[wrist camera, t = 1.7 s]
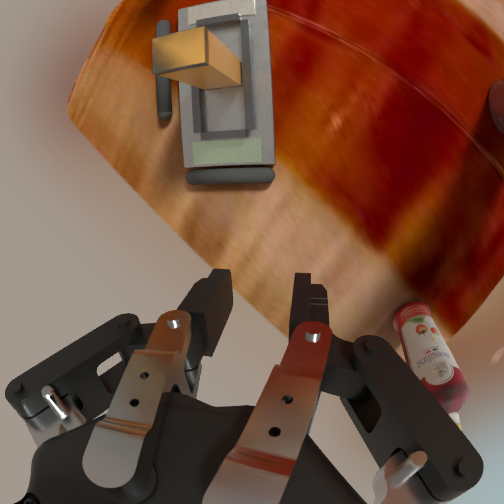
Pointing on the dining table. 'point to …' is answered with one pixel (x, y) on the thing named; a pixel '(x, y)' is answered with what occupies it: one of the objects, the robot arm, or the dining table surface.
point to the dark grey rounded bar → (230, 176)
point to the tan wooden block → (195, 59)
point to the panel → (231, 90)
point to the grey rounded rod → (163, 80)
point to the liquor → (431, 357)
